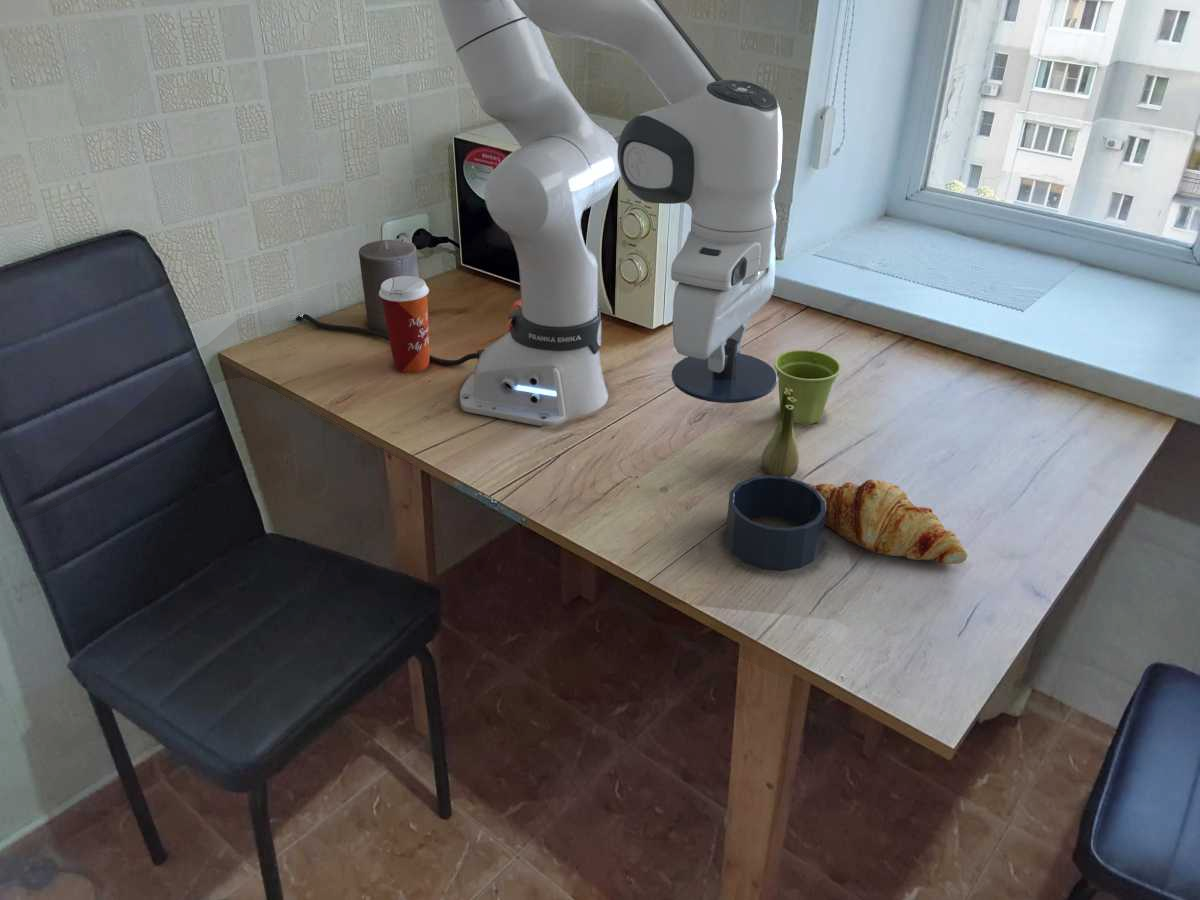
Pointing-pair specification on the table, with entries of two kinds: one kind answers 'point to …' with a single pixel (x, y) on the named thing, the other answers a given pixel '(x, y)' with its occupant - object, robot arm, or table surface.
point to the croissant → (888, 522)
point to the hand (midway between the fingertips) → (724, 362)
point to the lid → (725, 377)
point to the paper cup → (407, 321)
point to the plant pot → (807, 381)
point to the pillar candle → (384, 274)
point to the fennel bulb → (783, 441)
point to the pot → (775, 543)
